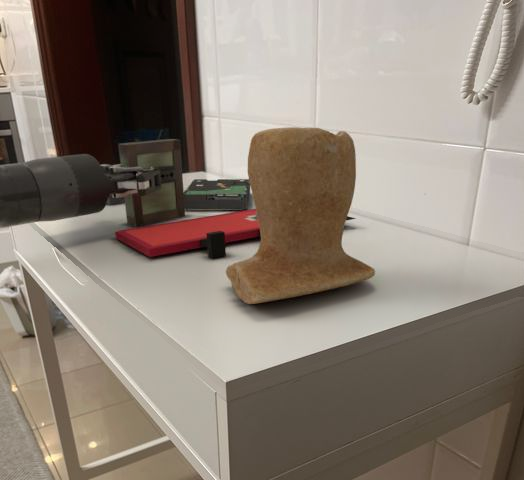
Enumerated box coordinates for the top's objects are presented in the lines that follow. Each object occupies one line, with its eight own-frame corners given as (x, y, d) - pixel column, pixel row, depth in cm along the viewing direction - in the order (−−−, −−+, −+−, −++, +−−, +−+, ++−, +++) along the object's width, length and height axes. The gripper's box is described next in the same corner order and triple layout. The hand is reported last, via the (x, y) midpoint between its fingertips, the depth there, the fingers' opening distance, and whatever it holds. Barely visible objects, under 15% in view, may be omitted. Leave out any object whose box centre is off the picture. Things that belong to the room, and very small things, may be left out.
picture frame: (136, 226, 79) (127, 144, 74) (127, 224, 81) (118, 143, 76) (185, 216, 85) (180, 139, 80) (176, 214, 86) (170, 138, 82)
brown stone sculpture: (319, 260, 64) (324, 119, 57) (390, 290, 55) (406, 126, 48) (198, 283, 57) (189, 125, 51) (257, 321, 48) (254, 135, 41)
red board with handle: (365, 227, 76) (300, 210, 88) (366, 206, 75) (300, 192, 87) (163, 268, 62) (116, 241, 73) (160, 243, 61) (113, 220, 72)
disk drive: (193, 194, 102) (183, 211, 88) (192, 179, 100) (181, 192, 87) (250, 194, 102) (248, 210, 88) (250, 178, 100) (248, 192, 87)
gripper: (85, 161, 65) (199, 148, 76) (29, 152, 73) (139, 142, 85) (94, 226, 68) (202, 204, 79) (40, 210, 77) (144, 192, 88)
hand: (169, 172), depth 82 cm, fingers closed on picture frame, 2 cm apart
